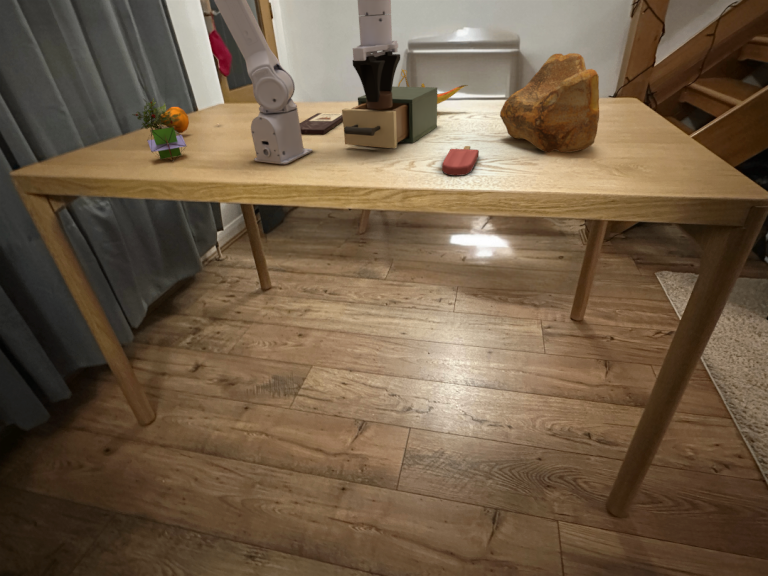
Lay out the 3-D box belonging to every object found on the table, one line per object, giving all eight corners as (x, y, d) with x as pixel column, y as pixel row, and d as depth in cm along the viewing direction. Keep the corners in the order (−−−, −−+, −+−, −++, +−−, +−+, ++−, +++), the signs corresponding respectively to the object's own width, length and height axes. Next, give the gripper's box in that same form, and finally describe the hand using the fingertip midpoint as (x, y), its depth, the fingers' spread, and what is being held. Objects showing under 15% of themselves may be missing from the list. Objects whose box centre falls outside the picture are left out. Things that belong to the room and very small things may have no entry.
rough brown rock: (496, 131, 98) (496, 58, 90) (573, 123, 95) (581, 47, 87) (505, 166, 80) (506, 78, 71) (601, 158, 76) (615, 65, 68)
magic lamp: (467, 115, 110) (469, 67, 104) (397, 117, 112) (396, 70, 106) (466, 110, 115) (469, 64, 109) (400, 111, 118) (399, 67, 112)
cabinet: (412, 143, 91) (412, 99, 86) (360, 139, 96) (357, 97, 91) (436, 127, 101) (437, 87, 97) (388, 124, 106) (387, 86, 102)
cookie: (362, 108, 82) (361, 94, 81) (374, 104, 86) (373, 90, 85) (386, 109, 80) (385, 95, 79) (396, 104, 84) (396, 91, 83)
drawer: (385, 154, 82) (383, 116, 78) (334, 149, 86) (330, 114, 82) (420, 132, 95) (420, 98, 91) (374, 129, 99) (372, 97, 95)
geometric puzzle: (190, 151, 86) (176, 113, 86) (153, 157, 83) (139, 118, 83) (191, 165, 93) (179, 130, 93) (157, 171, 90) (145, 135, 90)
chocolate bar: (288, 129, 102) (317, 113, 117) (289, 133, 103) (318, 116, 117) (323, 129, 100) (348, 113, 114) (324, 134, 101) (349, 117, 115)
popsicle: (481, 143, 82) (470, 167, 71) (481, 151, 83) (470, 176, 71) (454, 142, 84) (438, 166, 72) (454, 150, 85) (438, 175, 73)
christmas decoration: (216, 148, 117) (177, 150, 98) (173, 135, 116) (127, 135, 97) (221, 111, 113) (182, 105, 94) (177, 98, 113) (129, 90, 94)
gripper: (377, 16, 68) (381, 107, 76) (411, 12, 79) (412, 92, 86) (339, 17, 71) (346, 105, 78) (377, 14, 82) (380, 92, 89)
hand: (379, 98), depth 82 cm, fingers closed on cookie, 5 cm apart
